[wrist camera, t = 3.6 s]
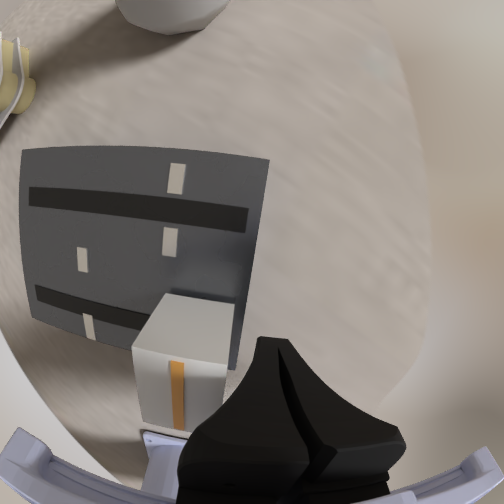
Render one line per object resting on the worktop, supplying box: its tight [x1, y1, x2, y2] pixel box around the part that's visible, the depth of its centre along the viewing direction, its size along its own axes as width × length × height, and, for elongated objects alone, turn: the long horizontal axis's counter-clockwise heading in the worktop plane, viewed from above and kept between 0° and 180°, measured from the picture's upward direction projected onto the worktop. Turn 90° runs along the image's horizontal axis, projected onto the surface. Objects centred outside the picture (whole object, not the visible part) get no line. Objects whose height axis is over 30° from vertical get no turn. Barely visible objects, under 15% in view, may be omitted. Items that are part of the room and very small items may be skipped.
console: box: [19, 146, 270, 370], centre depth 12 cm, size 10×13×2 cm
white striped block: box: [131, 293, 235, 433], centre depth 10 cm, size 4×3×4 cm
